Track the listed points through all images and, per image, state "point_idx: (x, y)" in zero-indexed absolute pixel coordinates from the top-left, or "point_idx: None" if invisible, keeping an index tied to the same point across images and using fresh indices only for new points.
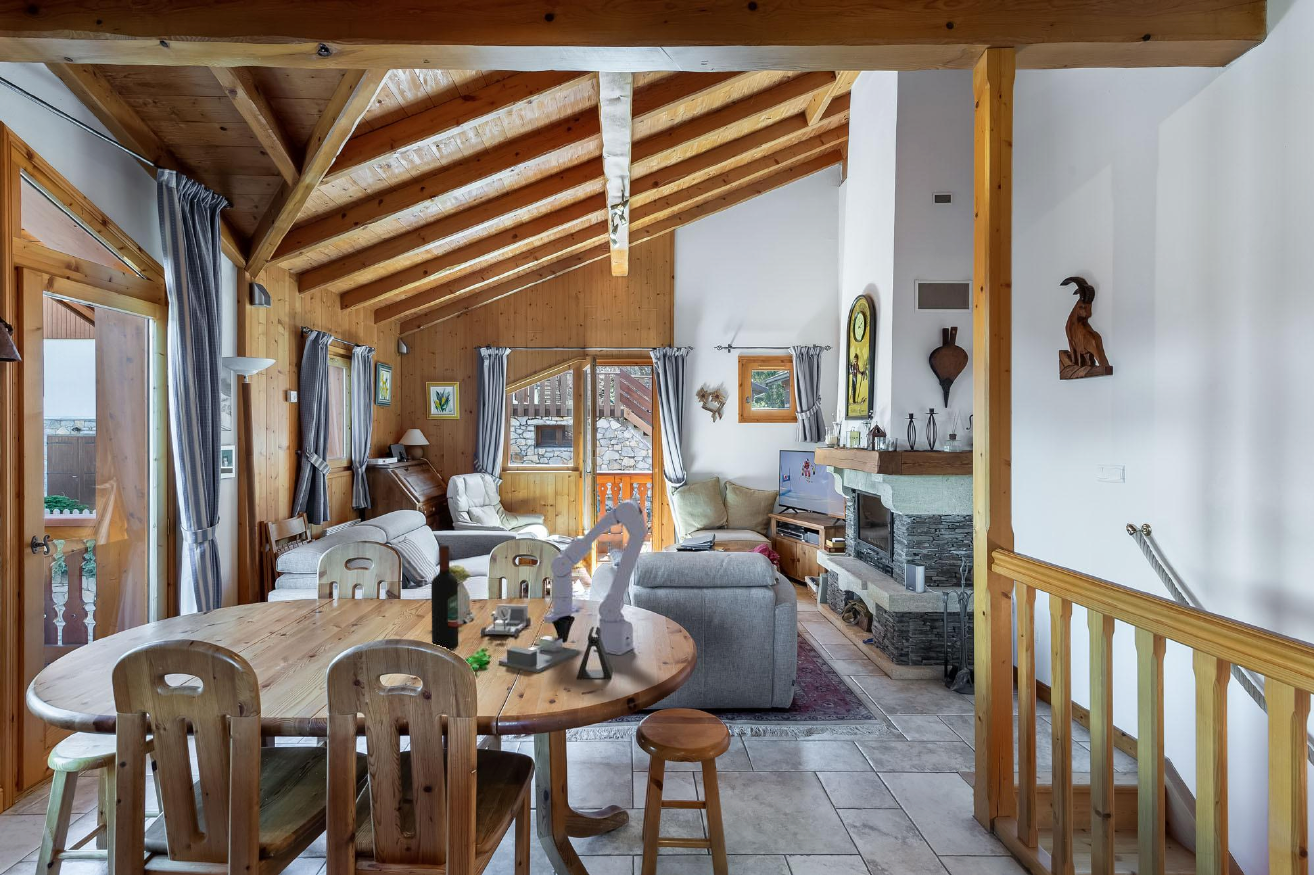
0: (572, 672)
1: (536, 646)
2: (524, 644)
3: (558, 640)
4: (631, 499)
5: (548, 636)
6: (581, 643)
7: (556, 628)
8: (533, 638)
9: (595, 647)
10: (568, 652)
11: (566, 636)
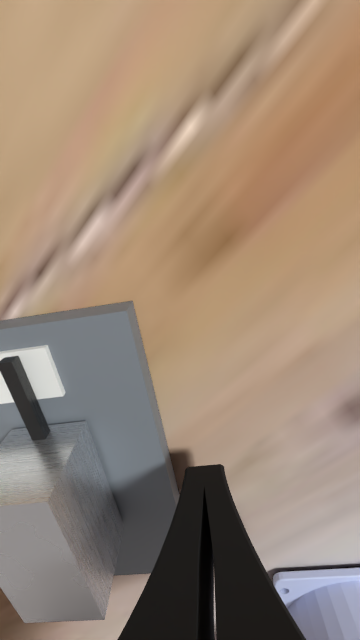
0: (14, 632)
1: (28, 369)
2: (53, 131)
3: (55, 619)
4: None
5: (49, 530)
6: (355, 464)
7: (146, 609)
8: (255, 13)
9: (298, 580)
10: (124, 558)
11: (211, 561)
